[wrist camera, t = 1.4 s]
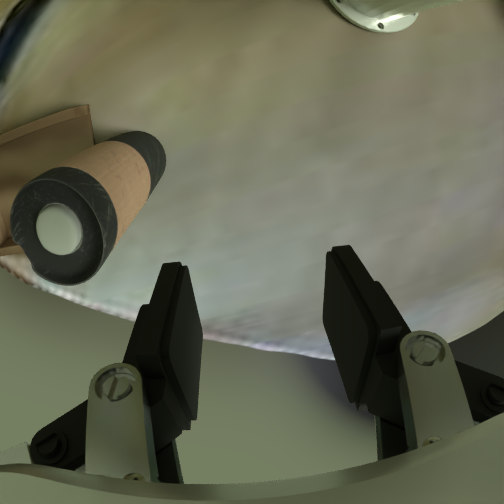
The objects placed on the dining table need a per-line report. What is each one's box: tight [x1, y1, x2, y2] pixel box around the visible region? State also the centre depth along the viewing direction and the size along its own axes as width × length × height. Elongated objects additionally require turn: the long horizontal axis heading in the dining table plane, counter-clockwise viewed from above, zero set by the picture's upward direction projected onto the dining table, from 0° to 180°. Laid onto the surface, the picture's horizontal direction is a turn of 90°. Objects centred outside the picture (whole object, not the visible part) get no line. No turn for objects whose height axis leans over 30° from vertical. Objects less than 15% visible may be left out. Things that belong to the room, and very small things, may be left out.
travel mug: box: [10, 131, 166, 286], centre depth 25 cm, size 8×8×20 cm
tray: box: [0, 105, 95, 256], centre depth 32 cm, size 16×20×4 cm
